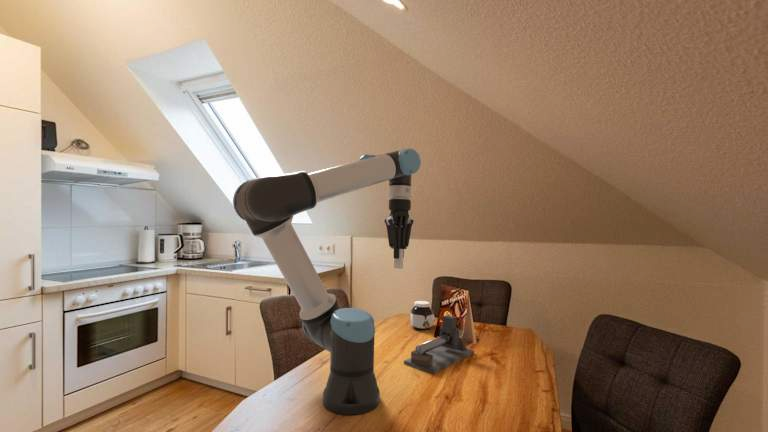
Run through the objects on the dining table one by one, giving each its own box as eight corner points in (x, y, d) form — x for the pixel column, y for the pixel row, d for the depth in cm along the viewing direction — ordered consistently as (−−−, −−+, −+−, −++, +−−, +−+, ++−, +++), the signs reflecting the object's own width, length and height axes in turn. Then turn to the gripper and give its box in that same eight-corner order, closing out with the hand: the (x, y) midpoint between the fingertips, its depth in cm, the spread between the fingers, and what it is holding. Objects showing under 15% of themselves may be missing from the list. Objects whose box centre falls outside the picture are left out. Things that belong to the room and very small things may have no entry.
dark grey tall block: (454, 349, 130) (454, 319, 131) (439, 345, 135) (439, 315, 135) (458, 347, 133) (459, 317, 133) (443, 343, 137) (444, 314, 137)
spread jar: (411, 331, 161) (412, 304, 161) (407, 323, 172) (408, 298, 172) (438, 330, 162) (439, 304, 162) (433, 323, 173) (433, 298, 174)
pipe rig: (433, 374, 116) (433, 360, 116) (403, 363, 124) (404, 350, 124) (473, 353, 135) (473, 340, 135) (445, 345, 143) (446, 333, 143)
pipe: (423, 356, 119) (423, 346, 119) (415, 353, 121) (415, 343, 121) (462, 338, 138) (462, 330, 138) (455, 336, 140) (455, 328, 140)
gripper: (395, 197, 117) (394, 270, 117) (420, 199, 127) (418, 267, 127) (378, 198, 123) (377, 268, 122) (403, 200, 132) (402, 265, 132)
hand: (398, 268), depth 124 cm, fingers closed
